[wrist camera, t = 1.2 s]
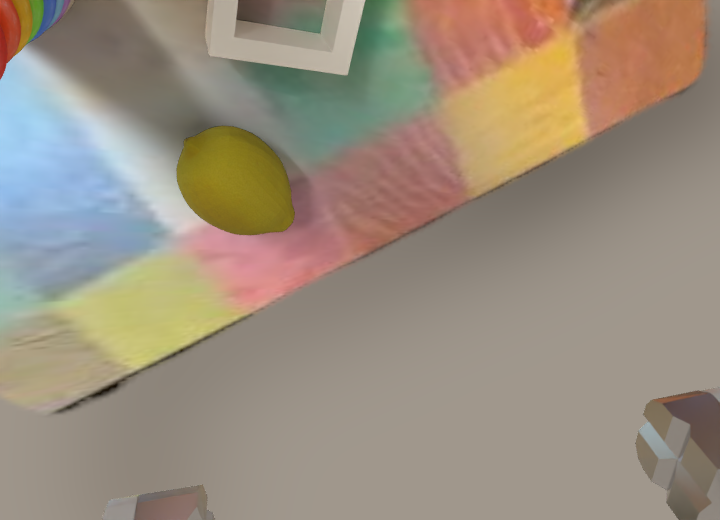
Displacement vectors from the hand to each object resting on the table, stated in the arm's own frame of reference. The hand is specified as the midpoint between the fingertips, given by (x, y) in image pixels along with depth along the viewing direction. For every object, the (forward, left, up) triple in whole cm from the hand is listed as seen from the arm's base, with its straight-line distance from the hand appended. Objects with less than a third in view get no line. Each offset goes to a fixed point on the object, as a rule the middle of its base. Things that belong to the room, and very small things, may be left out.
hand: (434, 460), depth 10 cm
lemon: (+16, +2, -39) cm, 43 cm away
